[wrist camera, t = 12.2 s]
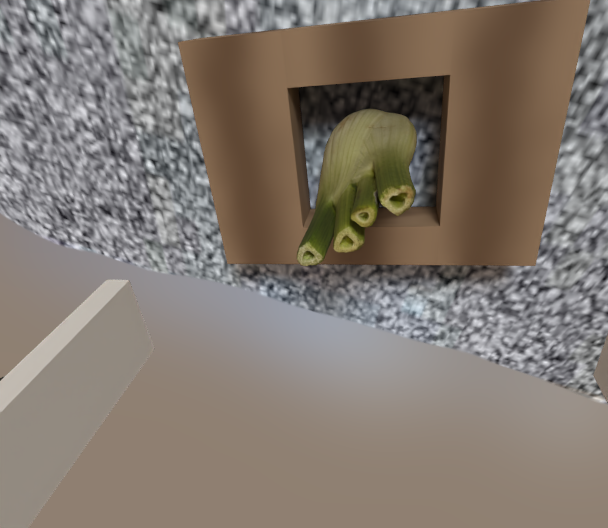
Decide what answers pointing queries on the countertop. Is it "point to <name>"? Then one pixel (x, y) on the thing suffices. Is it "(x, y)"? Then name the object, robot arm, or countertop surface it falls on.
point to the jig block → (453, 137)
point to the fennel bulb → (360, 181)
